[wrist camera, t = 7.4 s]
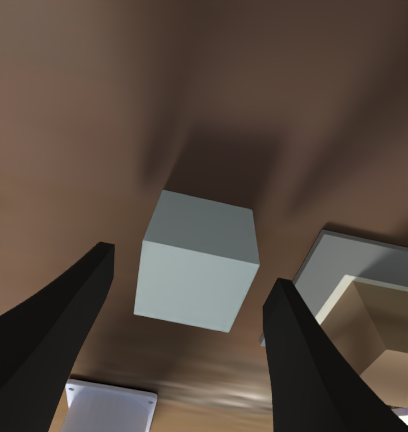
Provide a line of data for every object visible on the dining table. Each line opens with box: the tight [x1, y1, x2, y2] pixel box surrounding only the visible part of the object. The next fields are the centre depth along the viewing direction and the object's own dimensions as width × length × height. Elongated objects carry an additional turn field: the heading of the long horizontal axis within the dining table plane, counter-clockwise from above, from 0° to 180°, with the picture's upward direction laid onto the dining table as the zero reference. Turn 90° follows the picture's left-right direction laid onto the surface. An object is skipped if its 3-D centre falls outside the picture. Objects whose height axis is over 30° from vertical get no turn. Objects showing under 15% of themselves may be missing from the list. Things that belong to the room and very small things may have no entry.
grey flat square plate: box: [260, 229, 408, 346], centre depth 17 cm, size 10×10×1 cm
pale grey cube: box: [134, 190, 260, 333], centre depth 13 cm, size 4×4×4 cm
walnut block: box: [320, 281, 408, 408], centre depth 15 cm, size 4×4×4 cm
